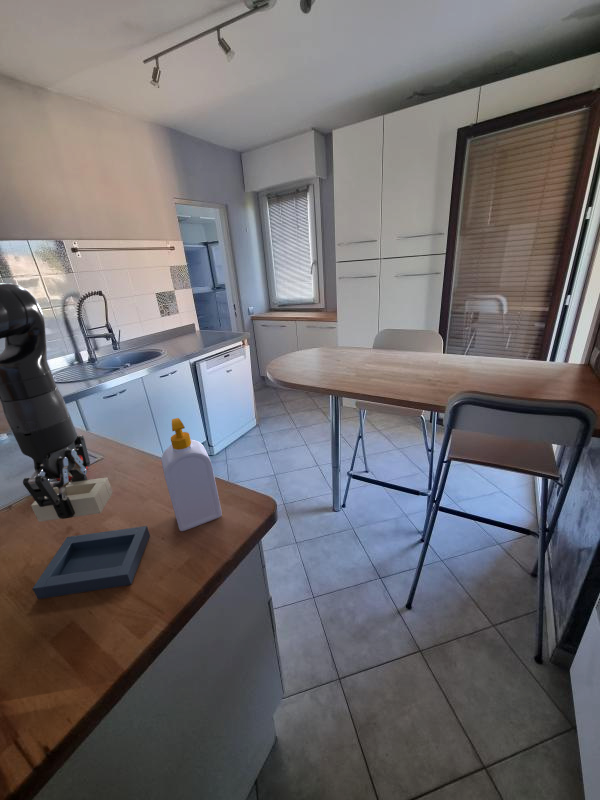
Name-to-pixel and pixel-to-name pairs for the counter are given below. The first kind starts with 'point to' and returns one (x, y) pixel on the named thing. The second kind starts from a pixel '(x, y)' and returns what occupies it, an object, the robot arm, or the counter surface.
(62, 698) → the counter surface
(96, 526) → the counter surface
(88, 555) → the tray
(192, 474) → the soap bottle
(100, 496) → the frame
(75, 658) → the counter surface
